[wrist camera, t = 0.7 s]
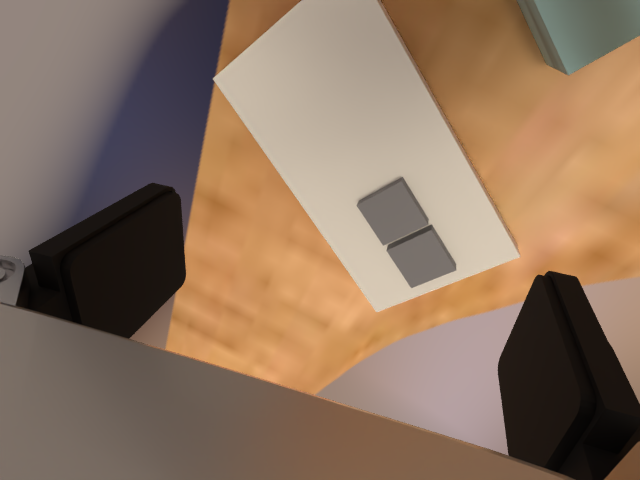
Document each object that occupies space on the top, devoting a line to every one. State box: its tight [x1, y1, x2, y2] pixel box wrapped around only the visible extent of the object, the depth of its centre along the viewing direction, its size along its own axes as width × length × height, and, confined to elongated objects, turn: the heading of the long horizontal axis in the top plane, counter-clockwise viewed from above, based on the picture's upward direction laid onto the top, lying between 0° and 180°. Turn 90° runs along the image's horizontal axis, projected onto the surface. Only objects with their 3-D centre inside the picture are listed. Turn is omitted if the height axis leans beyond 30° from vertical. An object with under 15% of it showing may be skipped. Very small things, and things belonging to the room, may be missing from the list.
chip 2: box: [386, 225, 456, 288], centre depth 34 cm, size 4×4×1 cm
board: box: [213, 0, 520, 312], centre depth 33 cm, size 13×24×2 cm, turn 35°
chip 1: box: [357, 177, 429, 246], centre depth 32 cm, size 4×4×1 cm
